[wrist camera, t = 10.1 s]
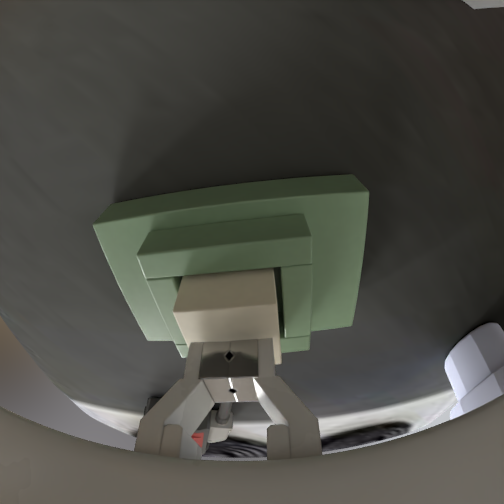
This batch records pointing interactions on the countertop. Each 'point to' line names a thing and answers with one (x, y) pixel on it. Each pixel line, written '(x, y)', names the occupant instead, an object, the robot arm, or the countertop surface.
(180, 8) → the countertop surface
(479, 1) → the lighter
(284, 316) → the key block
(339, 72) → the countertop surface
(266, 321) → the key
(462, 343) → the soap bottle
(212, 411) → the walkie-talkie
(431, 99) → the countertop surface
